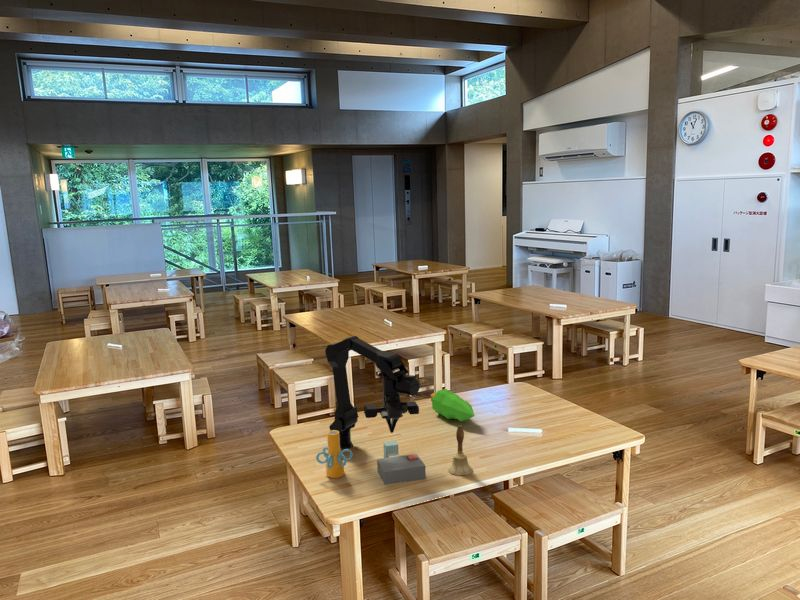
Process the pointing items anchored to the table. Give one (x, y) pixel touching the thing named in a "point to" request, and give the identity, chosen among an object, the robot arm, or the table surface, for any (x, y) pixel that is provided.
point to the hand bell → (460, 457)
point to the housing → (400, 469)
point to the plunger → (411, 457)
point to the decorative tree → (451, 405)
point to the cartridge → (390, 449)
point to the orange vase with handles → (334, 456)
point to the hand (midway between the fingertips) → (391, 432)
